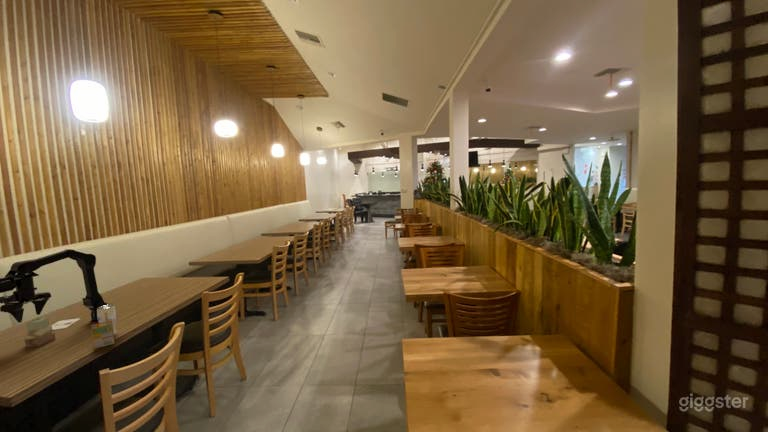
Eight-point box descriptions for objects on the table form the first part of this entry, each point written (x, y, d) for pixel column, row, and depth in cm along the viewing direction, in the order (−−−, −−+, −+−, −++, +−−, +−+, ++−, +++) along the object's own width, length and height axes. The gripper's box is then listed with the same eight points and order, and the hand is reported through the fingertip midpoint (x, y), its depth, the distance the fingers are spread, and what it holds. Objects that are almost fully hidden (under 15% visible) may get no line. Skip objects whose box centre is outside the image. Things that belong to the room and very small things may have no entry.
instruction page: (81, 318, 180) (81, 317, 180) (65, 328, 166) (65, 327, 166) (59, 321, 176) (59, 320, 176) (41, 331, 163) (41, 331, 163)
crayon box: (115, 341, 149) (112, 318, 148) (114, 343, 147) (111, 320, 146) (94, 346, 145) (91, 323, 144) (93, 349, 142) (91, 325, 141)
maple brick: (52, 332, 153) (51, 324, 153) (41, 337, 147) (40, 330, 147) (38, 333, 152) (37, 325, 152) (26, 339, 146) (25, 331, 146)
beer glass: (97, 339, 152) (94, 310, 151) (102, 333, 158) (99, 306, 157) (115, 335, 155) (112, 307, 154) (119, 330, 161) (116, 303, 160)
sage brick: (49, 325, 152) (48, 317, 152) (39, 329, 147) (38, 321, 147) (38, 326, 152) (37, 318, 151) (27, 330, 147) (26, 322, 146)
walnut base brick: (55, 339, 153) (54, 332, 153) (39, 347, 146) (38, 339, 146) (42, 340, 154) (41, 332, 153) (25, 347, 147) (24, 339, 146)
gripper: (25, 283, 155) (29, 312, 156) (-17, 295, 137) (-12, 328, 138) (50, 281, 157) (54, 310, 158) (12, 293, 138) (17, 326, 140)
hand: (29, 318), depth 148 cm, fingers open, 9 cm apart
